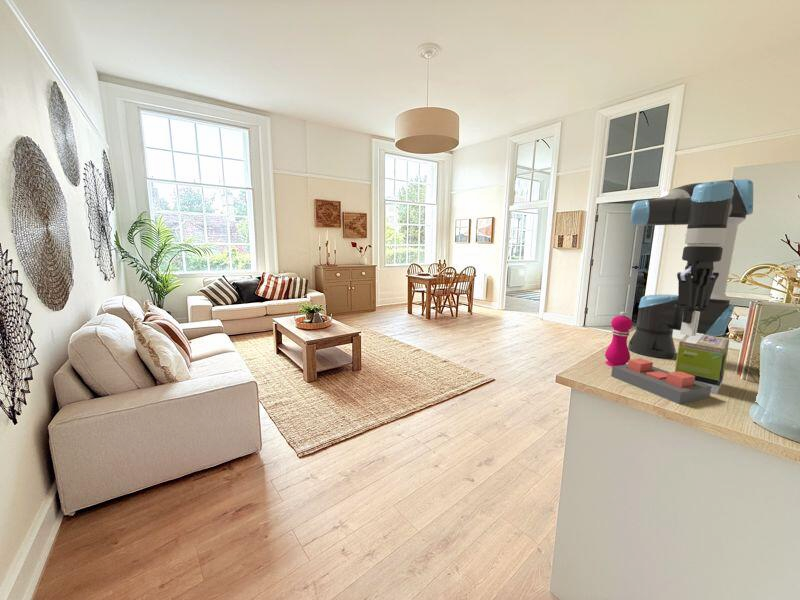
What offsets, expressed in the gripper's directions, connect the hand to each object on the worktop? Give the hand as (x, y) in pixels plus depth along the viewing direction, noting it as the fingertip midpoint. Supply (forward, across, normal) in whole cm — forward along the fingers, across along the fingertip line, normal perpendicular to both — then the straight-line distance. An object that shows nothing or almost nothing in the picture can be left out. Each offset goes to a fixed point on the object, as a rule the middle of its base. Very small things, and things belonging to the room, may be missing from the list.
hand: (688, 334), depth 88 cm
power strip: (+18, 0, -9) cm, 20 cm away
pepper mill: (+19, -5, -22) cm, 29 cm away
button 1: (+15, 0, -11) cm, 19 cm away
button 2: (+17, 0, -6) cm, 18 cm away
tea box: (+19, -16, -4) cm, 25 cm away
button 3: (+15, 0, 0) cm, 15 cm away
